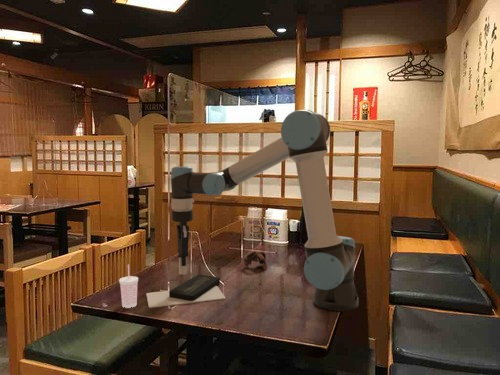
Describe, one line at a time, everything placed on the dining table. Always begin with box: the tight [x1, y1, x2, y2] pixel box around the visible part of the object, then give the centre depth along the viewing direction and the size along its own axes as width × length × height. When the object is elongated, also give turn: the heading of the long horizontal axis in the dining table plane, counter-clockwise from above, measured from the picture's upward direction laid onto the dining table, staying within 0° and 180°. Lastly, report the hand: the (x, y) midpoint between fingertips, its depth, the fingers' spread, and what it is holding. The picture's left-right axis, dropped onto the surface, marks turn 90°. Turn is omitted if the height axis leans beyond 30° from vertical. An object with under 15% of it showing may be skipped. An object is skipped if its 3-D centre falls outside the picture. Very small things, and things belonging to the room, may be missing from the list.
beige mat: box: [145, 285, 226, 309], centre depth 140 cm, size 13×26×1 cm, turn 108°
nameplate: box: [168, 274, 221, 301], centre depth 146 cm, size 21×2×10 cm
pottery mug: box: [243, 250, 268, 271], centre depth 175 cm, size 12×10×8 cm
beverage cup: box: [118, 264, 139, 309], centre depth 132 cm, size 6×6×14 cm
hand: (183, 273), depth 144 cm, fingers closed
